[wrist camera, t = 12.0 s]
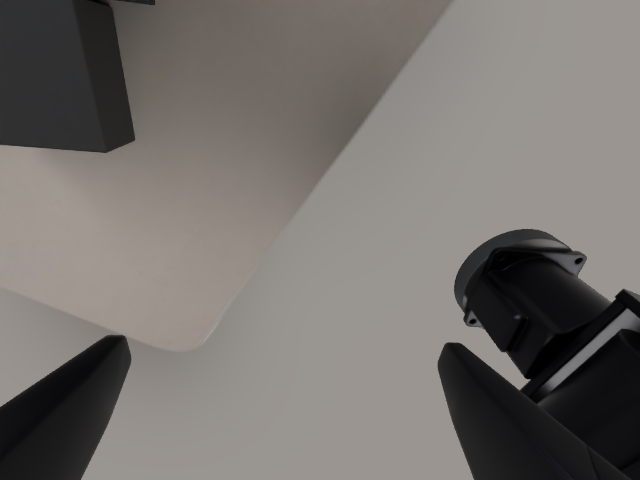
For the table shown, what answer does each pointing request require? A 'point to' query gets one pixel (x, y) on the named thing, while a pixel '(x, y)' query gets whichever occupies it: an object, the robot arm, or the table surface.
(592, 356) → the robot arm
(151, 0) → the dark gray pronged block
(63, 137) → the dark gray tabbed block
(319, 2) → the table surface
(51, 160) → the table surface
